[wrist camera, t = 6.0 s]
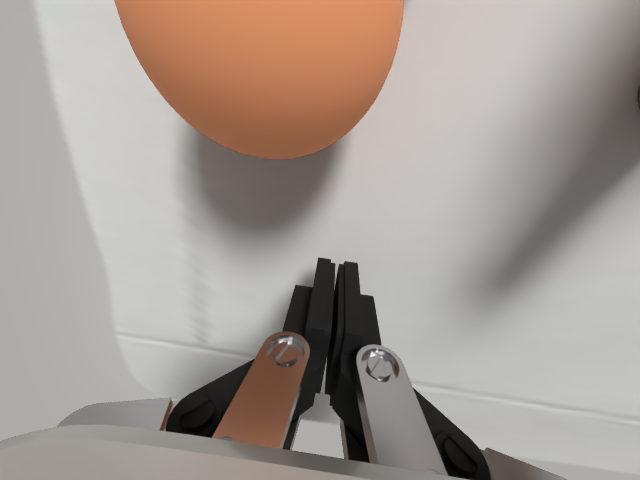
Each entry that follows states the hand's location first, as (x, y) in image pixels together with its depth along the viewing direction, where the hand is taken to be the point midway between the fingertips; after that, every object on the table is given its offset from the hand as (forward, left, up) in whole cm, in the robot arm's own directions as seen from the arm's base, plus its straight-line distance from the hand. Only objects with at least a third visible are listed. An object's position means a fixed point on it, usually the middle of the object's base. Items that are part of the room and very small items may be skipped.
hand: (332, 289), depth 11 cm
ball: (+3, -8, +2) cm, 9 cm away
